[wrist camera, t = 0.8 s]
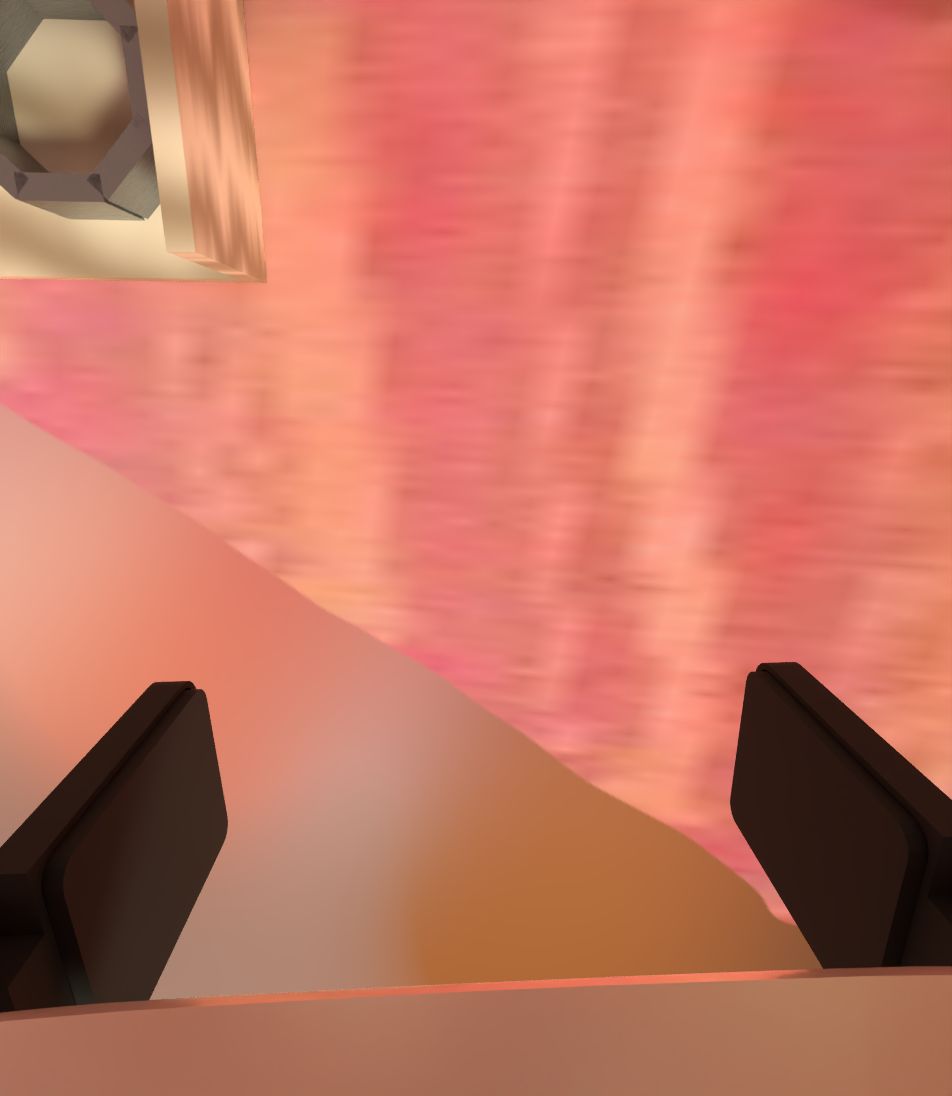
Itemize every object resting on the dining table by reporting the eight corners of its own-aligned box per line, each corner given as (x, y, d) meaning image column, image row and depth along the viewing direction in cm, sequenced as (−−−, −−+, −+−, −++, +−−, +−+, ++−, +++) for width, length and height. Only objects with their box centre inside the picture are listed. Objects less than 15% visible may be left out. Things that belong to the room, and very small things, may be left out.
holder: (-90, -73, 30) (-353, -284, 20) (237, -61, 30) (136, -261, 21) (-16, 278, 35) (-200, 245, 25) (267, 282, 35) (195, 252, 25)
